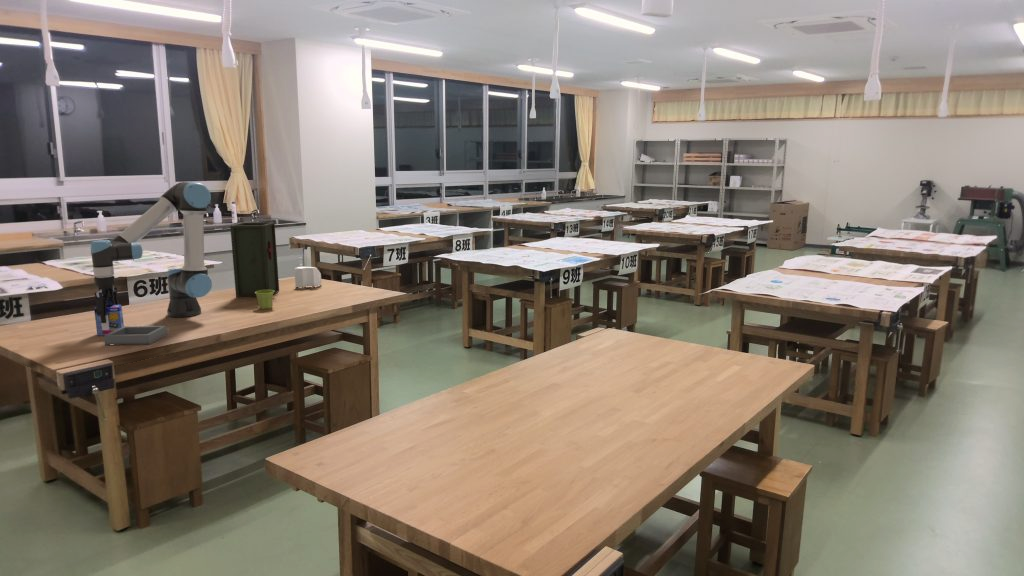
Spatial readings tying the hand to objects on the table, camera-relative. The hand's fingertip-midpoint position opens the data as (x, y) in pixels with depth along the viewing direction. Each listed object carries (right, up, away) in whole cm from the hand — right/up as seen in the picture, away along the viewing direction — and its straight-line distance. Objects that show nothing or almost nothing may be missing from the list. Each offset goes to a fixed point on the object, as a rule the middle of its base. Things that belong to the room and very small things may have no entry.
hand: (110, 327), depth 293 cm
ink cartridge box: (0, -3, 0) cm, 3 cm away
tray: (+18, -4, -11) cm, 21 cm away
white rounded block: (+53, +18, +110) cm, 124 cm away
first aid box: (+32, +14, +88) cm, 94 cm away
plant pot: (+49, +7, +51) cm, 71 cm away
